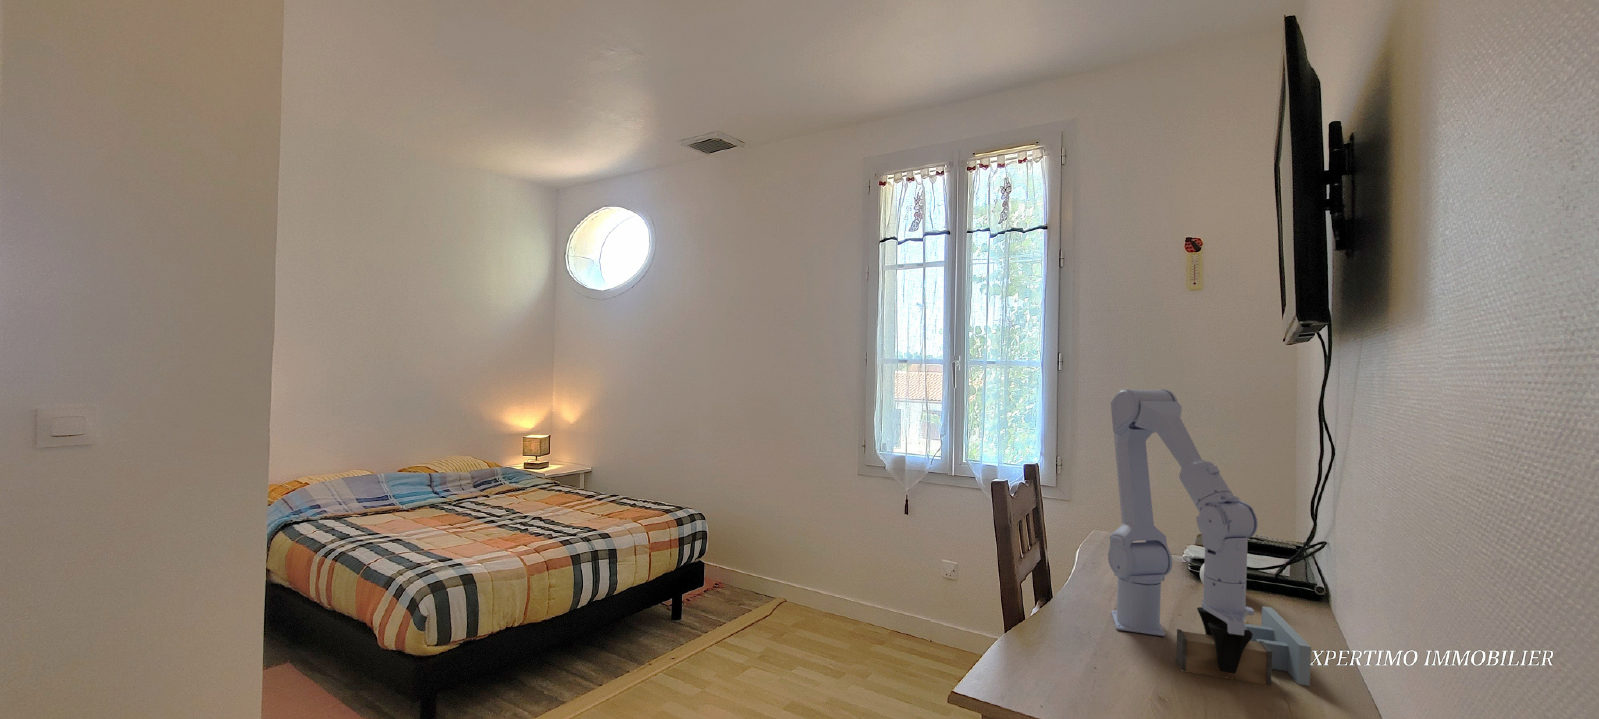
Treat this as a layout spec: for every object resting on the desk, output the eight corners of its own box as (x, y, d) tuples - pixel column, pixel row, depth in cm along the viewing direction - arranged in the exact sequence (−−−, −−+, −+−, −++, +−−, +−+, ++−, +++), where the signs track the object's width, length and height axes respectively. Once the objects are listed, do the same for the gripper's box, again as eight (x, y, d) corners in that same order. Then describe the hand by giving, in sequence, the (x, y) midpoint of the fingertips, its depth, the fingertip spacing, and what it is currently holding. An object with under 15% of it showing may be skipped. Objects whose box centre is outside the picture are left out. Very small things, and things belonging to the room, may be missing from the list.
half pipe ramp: (1181, 671, 108) (1182, 638, 108) (1176, 660, 112) (1177, 629, 112) (1271, 685, 104) (1272, 651, 104) (1262, 673, 108) (1263, 641, 108)
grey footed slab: (1235, 636, 123) (1236, 603, 123) (1270, 641, 121) (1271, 607, 121) (1267, 679, 106) (1269, 640, 106) (1309, 685, 104) (1310, 646, 104)
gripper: (1269, 596, 100) (1266, 688, 100) (1240, 568, 114) (1238, 649, 114) (1214, 589, 102) (1211, 679, 102) (1192, 563, 116) (1190, 642, 116)
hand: (1222, 663), depth 108 cm, fingers open, 5 cm apart
